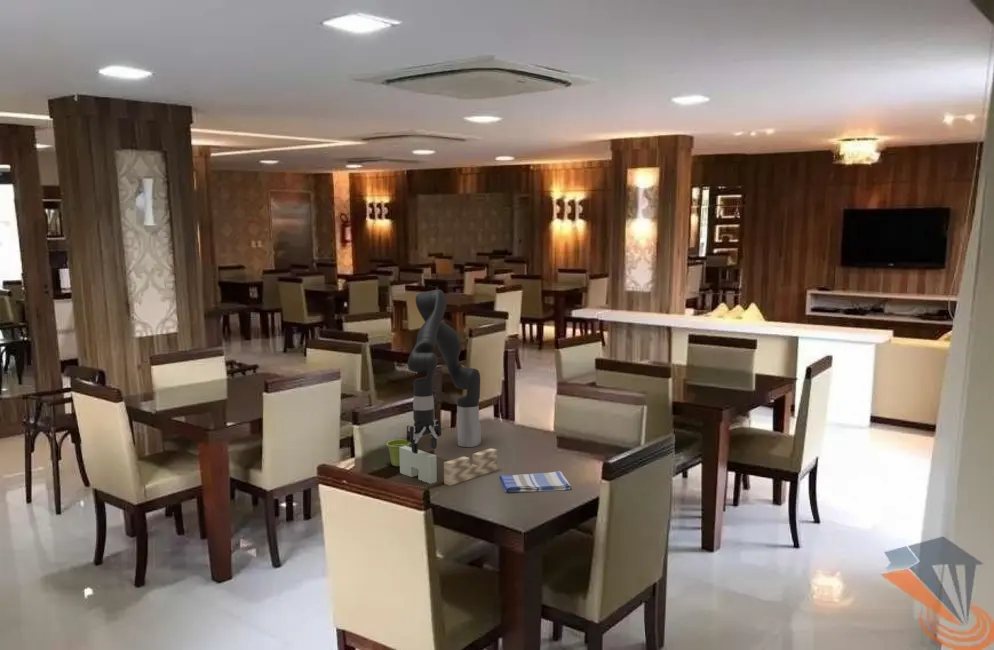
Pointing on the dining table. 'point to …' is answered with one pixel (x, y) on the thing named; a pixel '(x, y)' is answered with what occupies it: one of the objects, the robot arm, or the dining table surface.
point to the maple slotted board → (470, 466)
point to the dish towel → (534, 482)
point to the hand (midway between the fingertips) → (424, 450)
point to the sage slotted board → (418, 464)
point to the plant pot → (396, 450)
